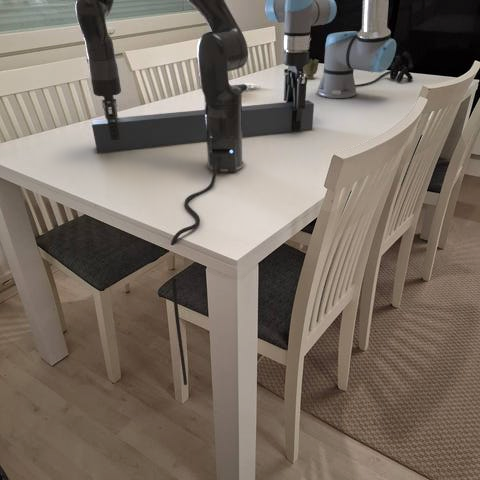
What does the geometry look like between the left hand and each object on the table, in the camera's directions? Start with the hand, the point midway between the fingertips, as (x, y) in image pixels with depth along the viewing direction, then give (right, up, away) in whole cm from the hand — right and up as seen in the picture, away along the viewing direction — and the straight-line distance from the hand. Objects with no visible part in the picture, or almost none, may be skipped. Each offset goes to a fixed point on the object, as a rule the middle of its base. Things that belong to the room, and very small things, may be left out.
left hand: (115, 136), depth 131 cm
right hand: (+54, +6, +13) cm, 56 cm away
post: (+27, +1, +8) cm, 28 cm away
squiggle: (+109, +41, +70) cm, 135 cm away
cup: (+69, +44, +75) cm, 111 cm away
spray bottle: (+35, +30, +54) cm, 71 cm away
